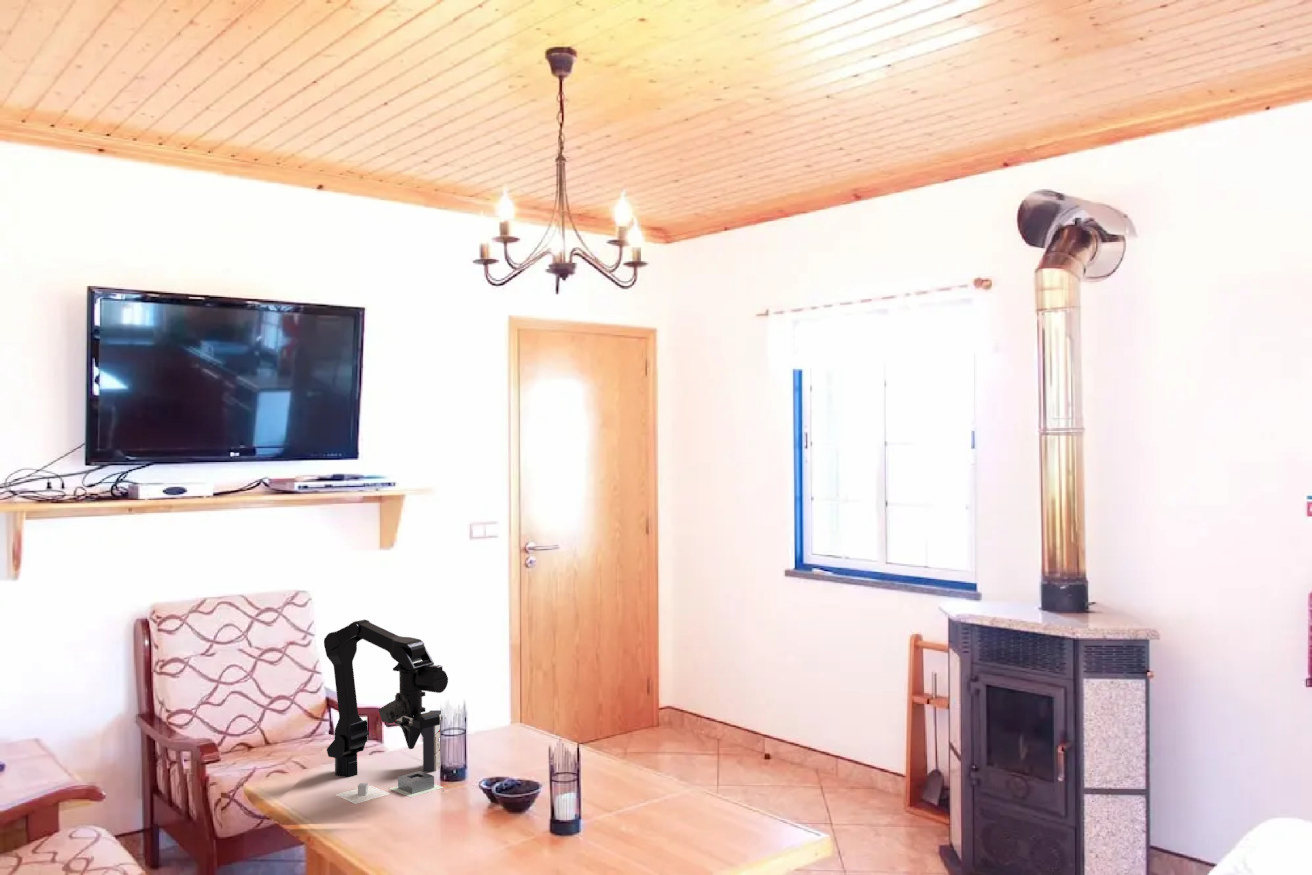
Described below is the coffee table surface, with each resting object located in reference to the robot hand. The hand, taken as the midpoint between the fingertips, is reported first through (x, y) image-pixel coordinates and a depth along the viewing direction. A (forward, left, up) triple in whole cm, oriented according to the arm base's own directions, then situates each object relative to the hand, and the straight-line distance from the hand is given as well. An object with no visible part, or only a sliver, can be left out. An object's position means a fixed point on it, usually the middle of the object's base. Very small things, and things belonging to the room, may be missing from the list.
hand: (411, 748), depth 265 cm
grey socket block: (+2, 0, -10) cm, 10 cm away
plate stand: (-4, -12, -11) cm, 16 cm away
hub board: (+2, 0, -11) cm, 11 cm away
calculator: (-11, +14, -11) cm, 21 cm away
